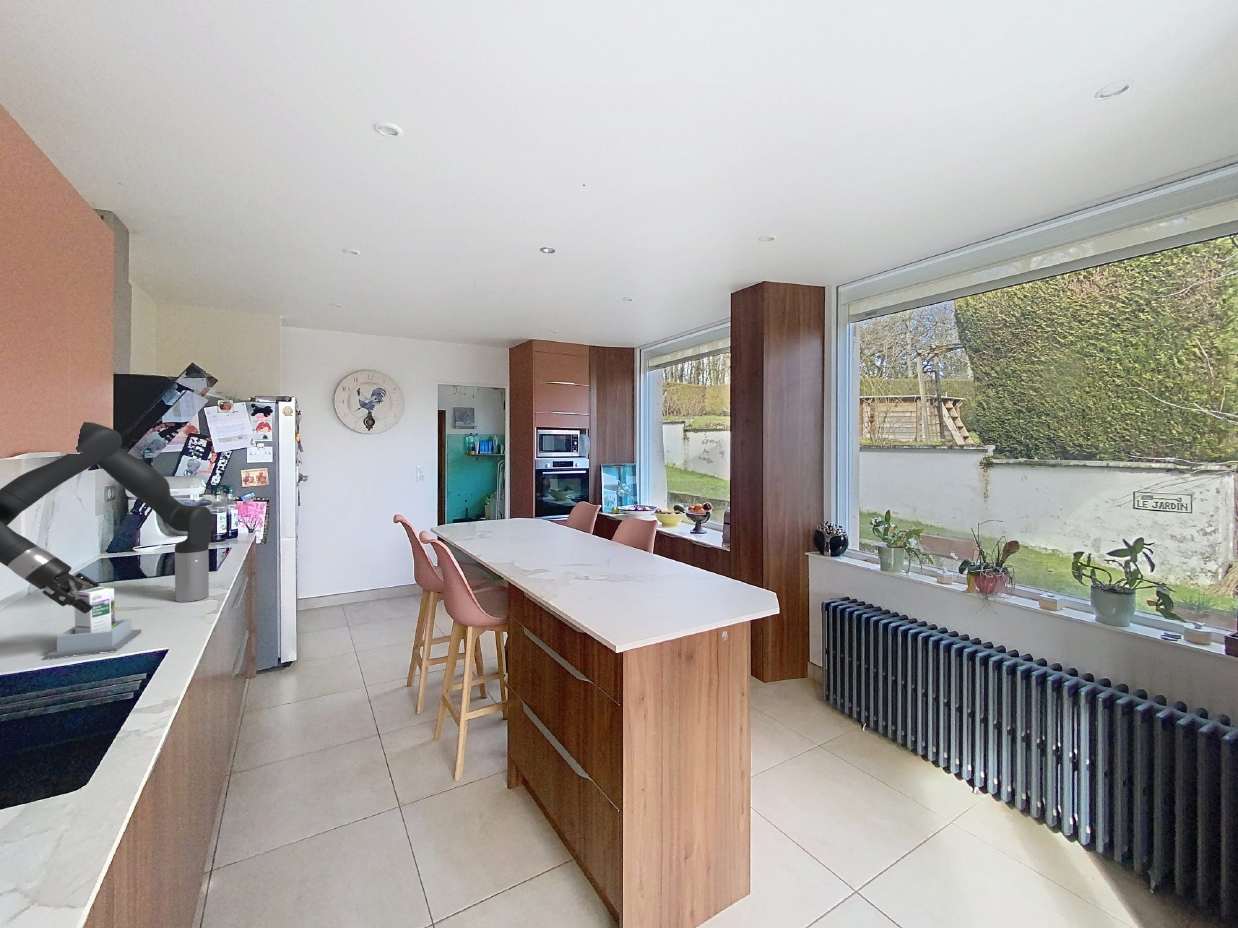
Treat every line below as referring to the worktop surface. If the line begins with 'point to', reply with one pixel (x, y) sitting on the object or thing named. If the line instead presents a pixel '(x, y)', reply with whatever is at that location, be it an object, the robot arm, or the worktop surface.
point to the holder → (94, 640)
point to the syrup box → (96, 611)
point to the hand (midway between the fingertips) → (98, 605)
